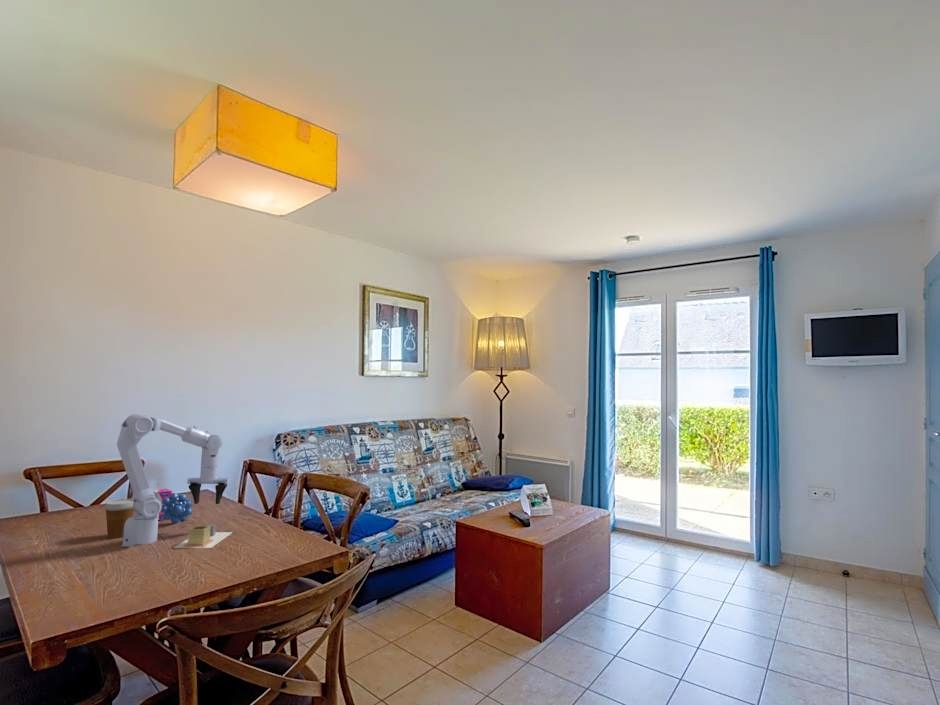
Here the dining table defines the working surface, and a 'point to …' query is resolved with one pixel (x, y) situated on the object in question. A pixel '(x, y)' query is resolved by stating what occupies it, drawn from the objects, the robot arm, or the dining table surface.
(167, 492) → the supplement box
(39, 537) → the dining table surface
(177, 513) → the grapes
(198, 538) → the sleeve
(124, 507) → the disposable coffee cup
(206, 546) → the board
